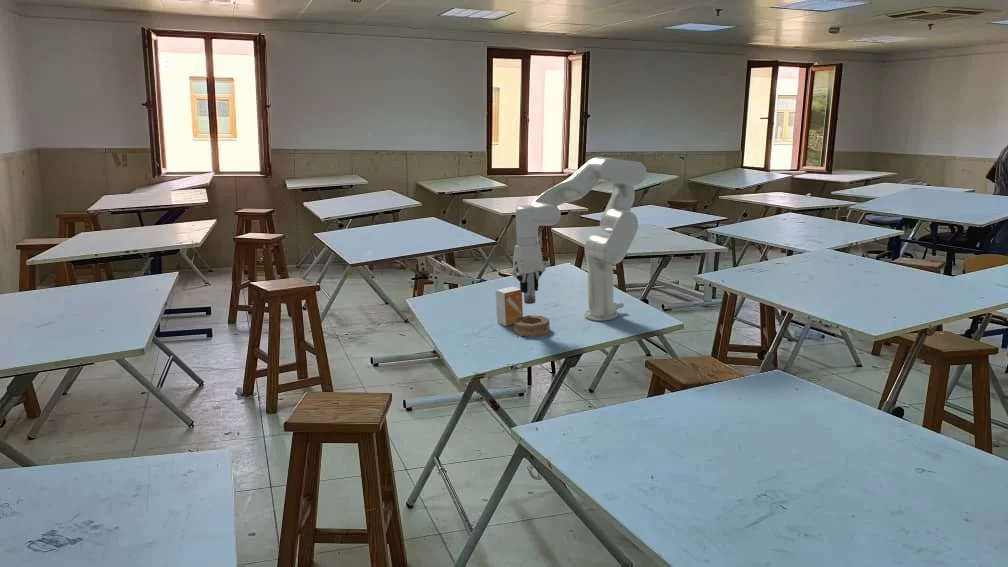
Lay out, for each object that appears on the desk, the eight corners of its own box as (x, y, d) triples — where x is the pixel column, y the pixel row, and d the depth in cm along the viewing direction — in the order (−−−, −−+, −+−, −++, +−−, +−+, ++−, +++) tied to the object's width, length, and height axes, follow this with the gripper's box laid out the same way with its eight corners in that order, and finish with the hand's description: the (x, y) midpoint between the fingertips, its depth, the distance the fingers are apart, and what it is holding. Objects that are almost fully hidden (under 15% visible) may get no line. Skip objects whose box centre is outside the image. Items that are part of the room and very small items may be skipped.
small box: (506, 326, 264) (504, 293, 260) (496, 322, 269) (494, 289, 265) (523, 322, 268) (522, 289, 264) (514, 318, 273) (512, 285, 270)
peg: (531, 300, 256) (530, 268, 253) (537, 302, 253) (536, 270, 250) (522, 302, 255) (521, 269, 252) (528, 304, 251) (526, 271, 248)
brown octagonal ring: (537, 323, 265) (536, 313, 264) (554, 331, 255) (554, 321, 254) (509, 330, 259) (508, 319, 258) (526, 338, 249) (526, 328, 248)
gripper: (541, 236, 255) (543, 285, 260) (501, 242, 247) (504, 293, 252) (553, 239, 249) (554, 289, 254) (512, 246, 241) (514, 297, 246)
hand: (529, 290), depth 253 cm, fingers closed on peg, 4 cm apart
